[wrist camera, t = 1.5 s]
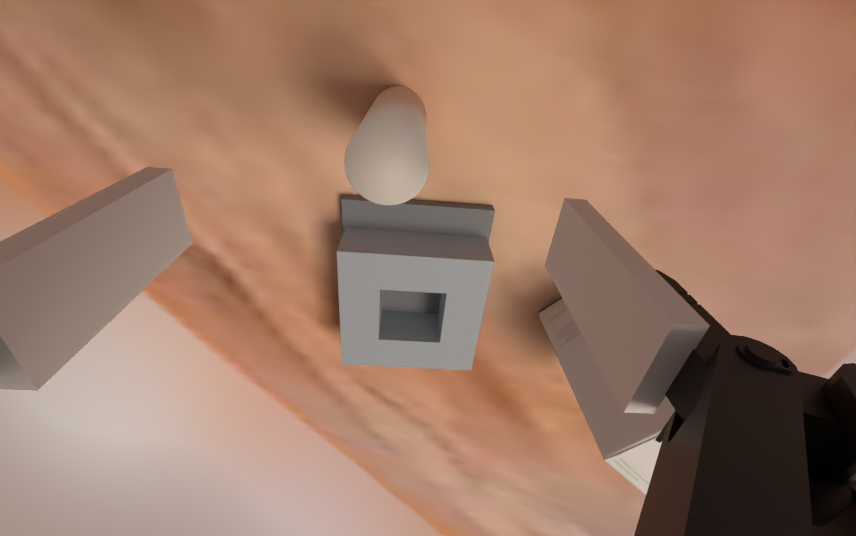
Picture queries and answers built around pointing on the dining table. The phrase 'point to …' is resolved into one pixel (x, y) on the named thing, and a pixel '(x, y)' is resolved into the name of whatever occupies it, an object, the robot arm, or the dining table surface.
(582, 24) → the dining table surface
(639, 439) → the skincare box
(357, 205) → the socket
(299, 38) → the dining table surface
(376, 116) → the dowel
